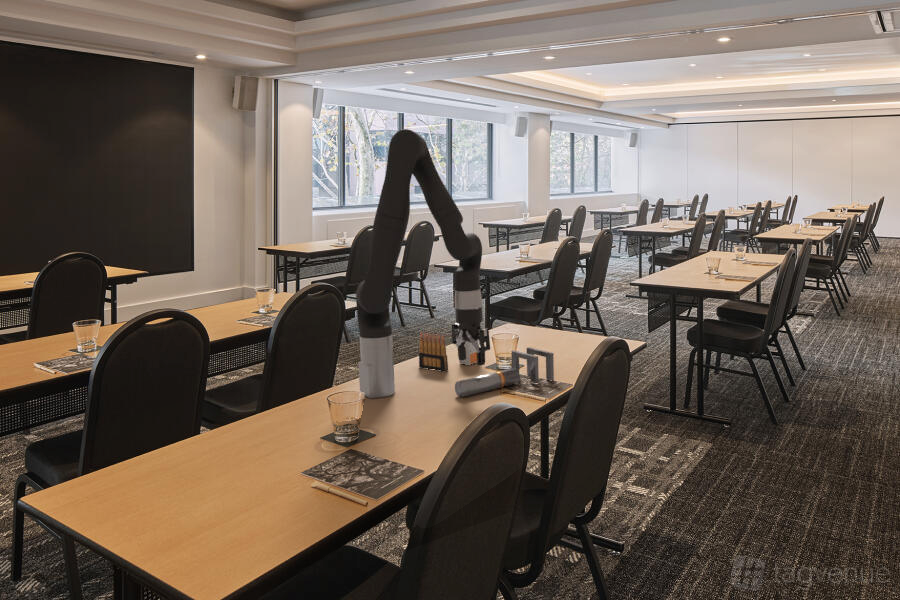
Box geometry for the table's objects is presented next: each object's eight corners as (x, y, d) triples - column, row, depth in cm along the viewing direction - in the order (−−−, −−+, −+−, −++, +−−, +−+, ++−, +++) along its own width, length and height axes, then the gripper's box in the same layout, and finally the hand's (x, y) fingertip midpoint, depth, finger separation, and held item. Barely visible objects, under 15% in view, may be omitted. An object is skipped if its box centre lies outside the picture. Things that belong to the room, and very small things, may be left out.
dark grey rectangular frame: (550, 381, 218) (550, 353, 216) (527, 374, 226) (526, 347, 225) (553, 380, 218) (553, 353, 217) (530, 373, 227) (529, 347, 226)
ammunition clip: (419, 367, 240) (417, 331, 238) (422, 366, 241) (420, 330, 239) (444, 372, 233) (443, 335, 231) (448, 370, 235) (446, 333, 233)
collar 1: (535, 385, 214) (535, 357, 213) (512, 378, 223) (511, 351, 222) (538, 384, 215) (538, 356, 214) (515, 377, 224) (514, 350, 222)
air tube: (464, 399, 204) (464, 382, 203) (455, 395, 207) (454, 379, 207) (520, 385, 215) (519, 369, 214) (509, 382, 219) (509, 366, 218)
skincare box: (469, 366, 239) (468, 330, 237) (458, 364, 242) (457, 328, 240) (480, 362, 244) (479, 326, 242) (469, 360, 247) (468, 325, 245)
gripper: (442, 305, 208) (446, 360, 210) (473, 310, 196) (477, 369, 199) (463, 301, 212) (466, 355, 215) (495, 306, 201) (498, 364, 203)
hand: (471, 362), depth 207 cm, fingers open, 8 cm apart
